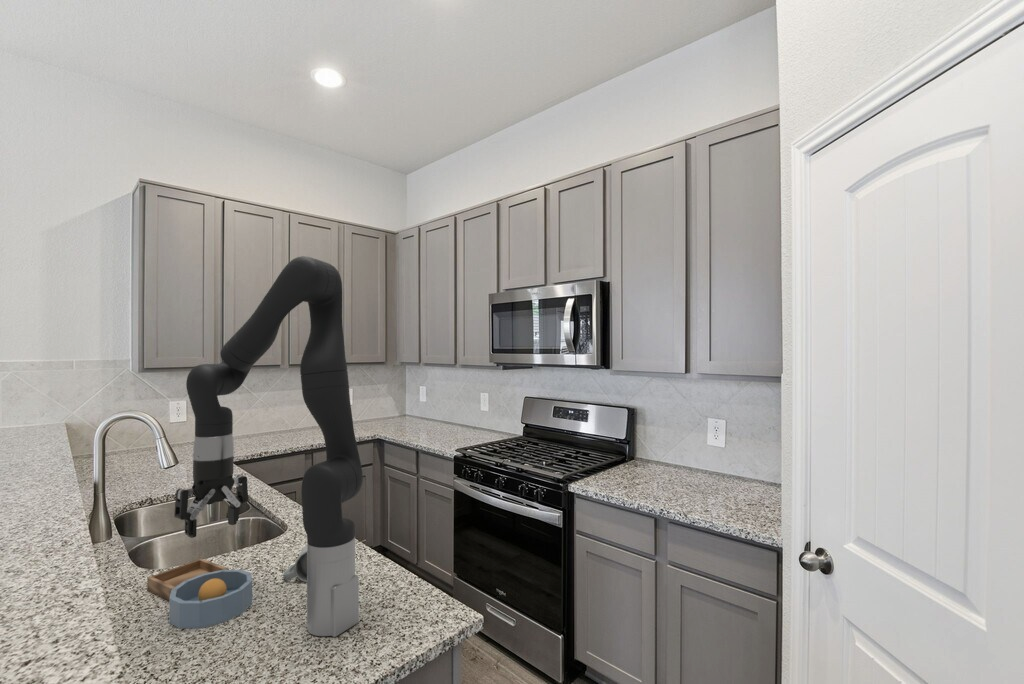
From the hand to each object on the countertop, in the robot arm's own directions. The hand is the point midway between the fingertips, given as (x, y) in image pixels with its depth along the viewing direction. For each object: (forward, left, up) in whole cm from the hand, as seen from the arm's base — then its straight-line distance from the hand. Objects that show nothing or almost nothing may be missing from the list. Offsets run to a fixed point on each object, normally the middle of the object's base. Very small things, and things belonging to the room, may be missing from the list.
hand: (212, 530), depth 105 cm
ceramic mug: (-5, -20, -17) cm, 27 cm away
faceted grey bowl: (0, 0, -17) cm, 17 cm away
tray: (+15, -3, -17) cm, 23 cm away
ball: (0, 0, -13) cm, 13 cm away
